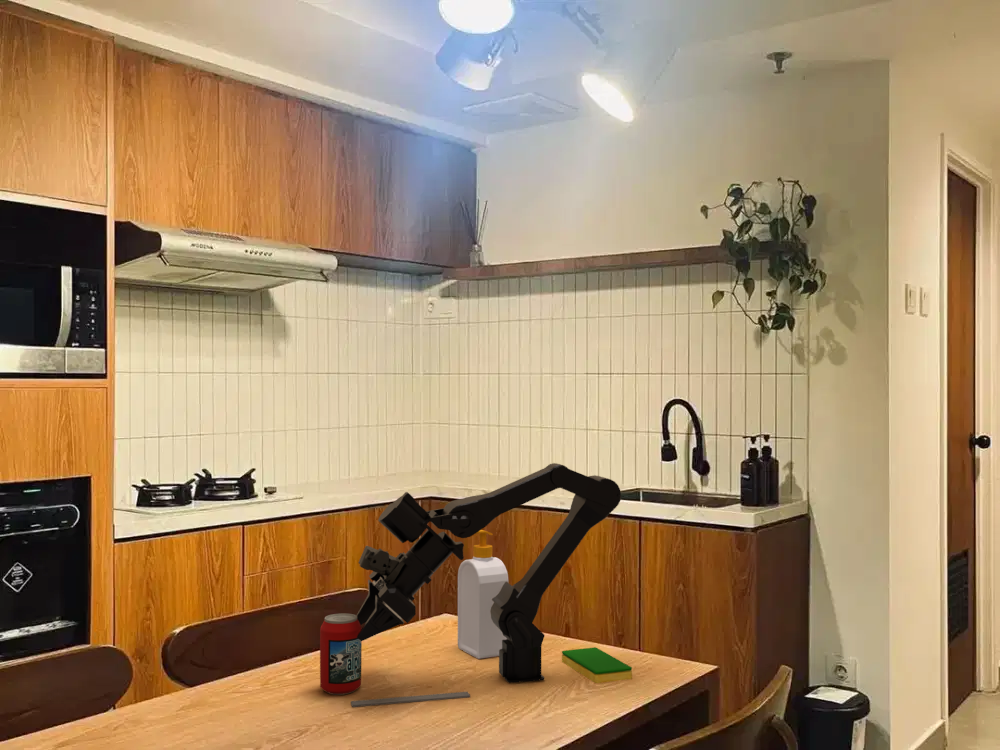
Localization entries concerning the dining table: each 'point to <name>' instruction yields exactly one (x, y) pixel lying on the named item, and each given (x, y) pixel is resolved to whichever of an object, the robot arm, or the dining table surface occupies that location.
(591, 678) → the dish sponge
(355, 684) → the beverage can
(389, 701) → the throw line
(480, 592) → the soap bottle
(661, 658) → the dining table surface
